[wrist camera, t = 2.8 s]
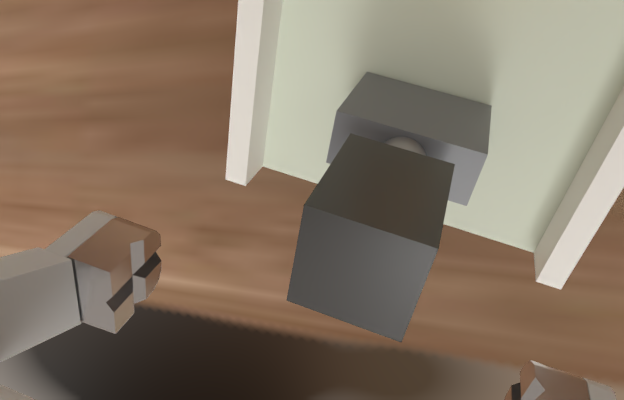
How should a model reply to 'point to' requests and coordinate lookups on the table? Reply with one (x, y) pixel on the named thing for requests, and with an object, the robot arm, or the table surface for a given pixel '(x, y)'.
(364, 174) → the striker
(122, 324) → the robot arm
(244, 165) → the tray
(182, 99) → the table surface
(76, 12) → the table surface
